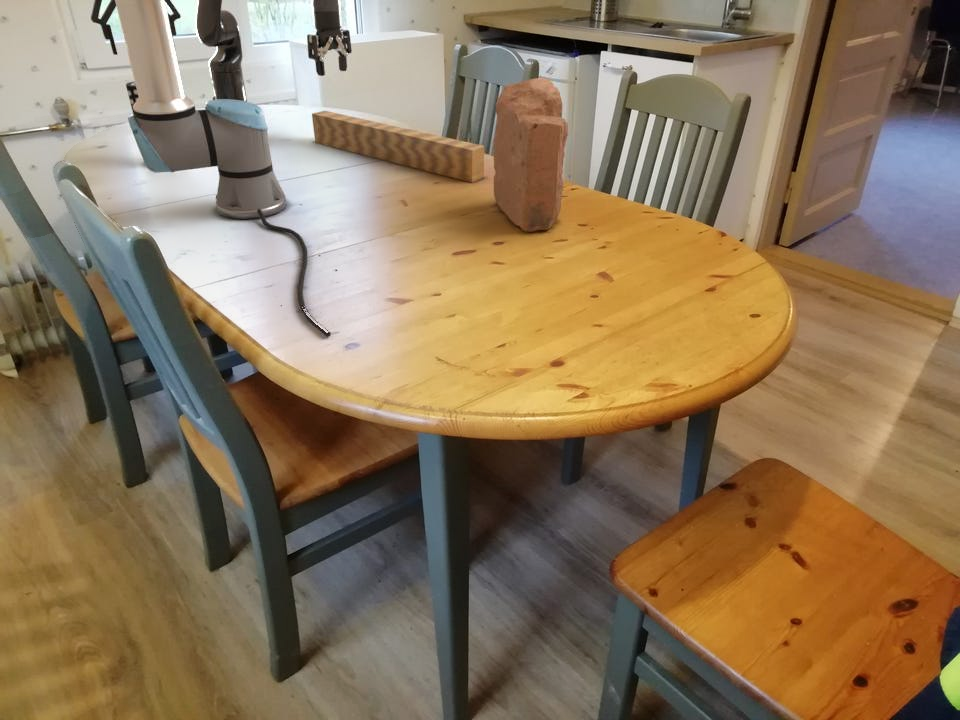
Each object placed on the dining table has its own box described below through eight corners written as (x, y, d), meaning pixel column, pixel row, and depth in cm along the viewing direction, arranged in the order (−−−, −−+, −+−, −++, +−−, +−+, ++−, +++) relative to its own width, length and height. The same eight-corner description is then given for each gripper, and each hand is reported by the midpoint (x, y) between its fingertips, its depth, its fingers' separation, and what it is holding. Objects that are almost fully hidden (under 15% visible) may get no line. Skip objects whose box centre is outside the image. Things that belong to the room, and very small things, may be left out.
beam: (484, 177, 178) (484, 145, 174) (472, 182, 175) (472, 150, 171) (327, 138, 208) (324, 110, 204) (315, 142, 205) (311, 113, 200)
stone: (573, 229, 148) (583, 90, 134) (525, 235, 145) (529, 94, 131) (535, 200, 166) (540, 75, 151) (491, 204, 163) (492, 77, 148)
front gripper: (174, -47, 170) (193, 46, 182) (61, -46, 160) (88, 53, 171) (180, -46, 165) (199, 50, 176) (63, -45, 154) (91, 57, 166)
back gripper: (335, 5, 190) (340, 67, 199) (296, 9, 180) (303, 75, 189) (355, 7, 187) (359, 71, 196) (317, 11, 177) (323, 78, 186)
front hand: (144, 52), depth 174 cm, fingers open, 13 cm apart
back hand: (332, 73), depth 192 cm, fingers open, 8 cm apart
